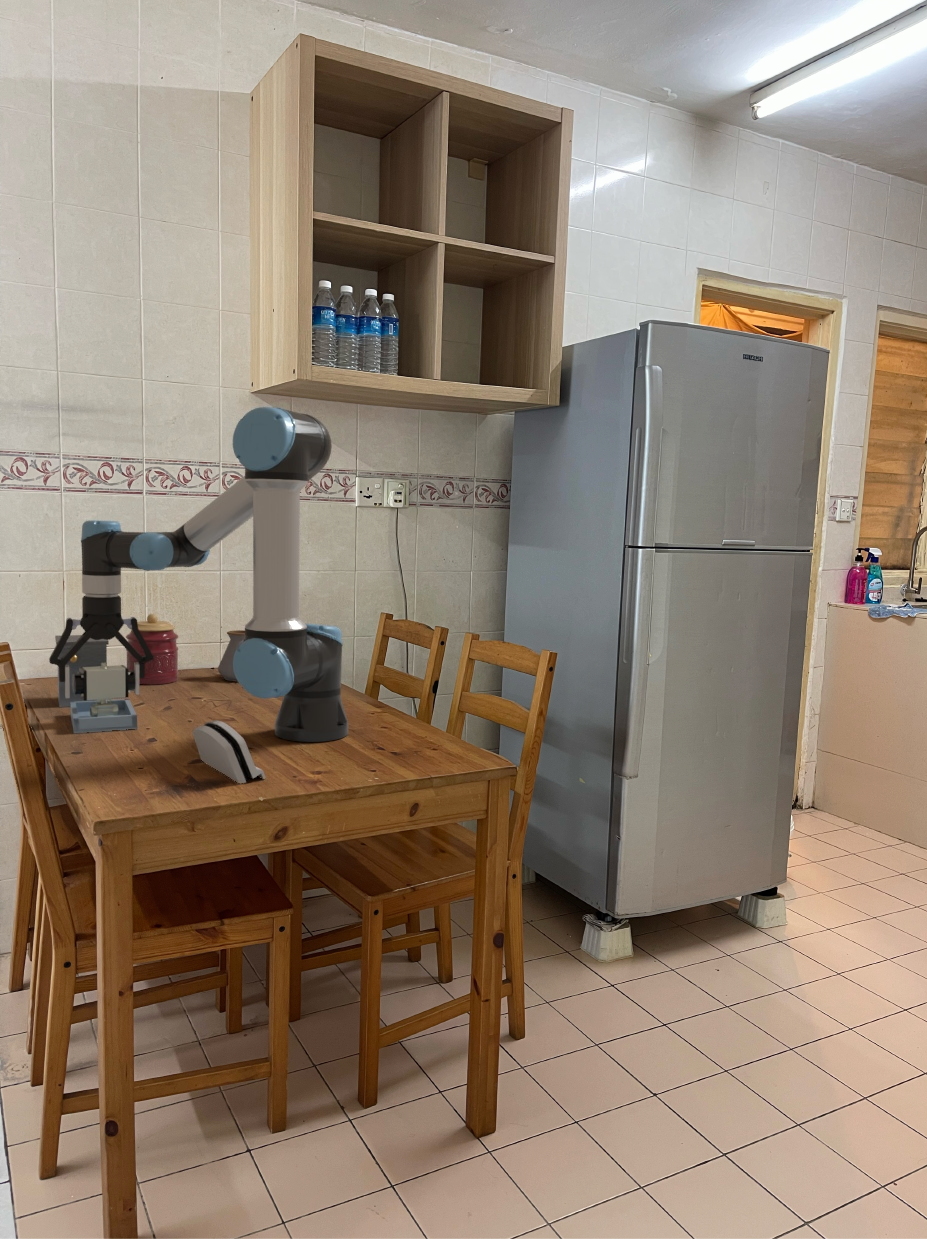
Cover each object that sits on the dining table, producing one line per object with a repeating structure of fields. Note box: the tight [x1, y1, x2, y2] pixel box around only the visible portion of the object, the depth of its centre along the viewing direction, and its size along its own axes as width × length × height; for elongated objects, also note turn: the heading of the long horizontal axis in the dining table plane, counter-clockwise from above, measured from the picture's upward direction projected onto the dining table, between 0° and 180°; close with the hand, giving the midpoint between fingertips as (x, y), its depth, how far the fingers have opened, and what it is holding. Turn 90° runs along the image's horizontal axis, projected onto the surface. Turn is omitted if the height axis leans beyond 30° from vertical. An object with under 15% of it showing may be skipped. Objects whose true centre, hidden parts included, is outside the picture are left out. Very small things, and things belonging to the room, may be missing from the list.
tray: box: [69, 698, 138, 734], centre depth 190 cm, size 17×12×3 cm
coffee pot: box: [217, 630, 245, 682], centre depth 238 cm, size 21×12×15 cm, turn 25°
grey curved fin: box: [191, 719, 267, 784], centre depth 158 cm, size 17×5×10 cm, turn 38°
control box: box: [54, 634, 110, 708], centre depth 208 cm, size 11×11×15 cm
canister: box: [125, 613, 179, 686], centre depth 235 cm, size 13×13×18 cm
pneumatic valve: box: [72, 662, 135, 717], centre depth 190 cm, size 6×12×12 cm, turn 123°
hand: (102, 695), depth 190 cm, fingers open, 13 cm apart
